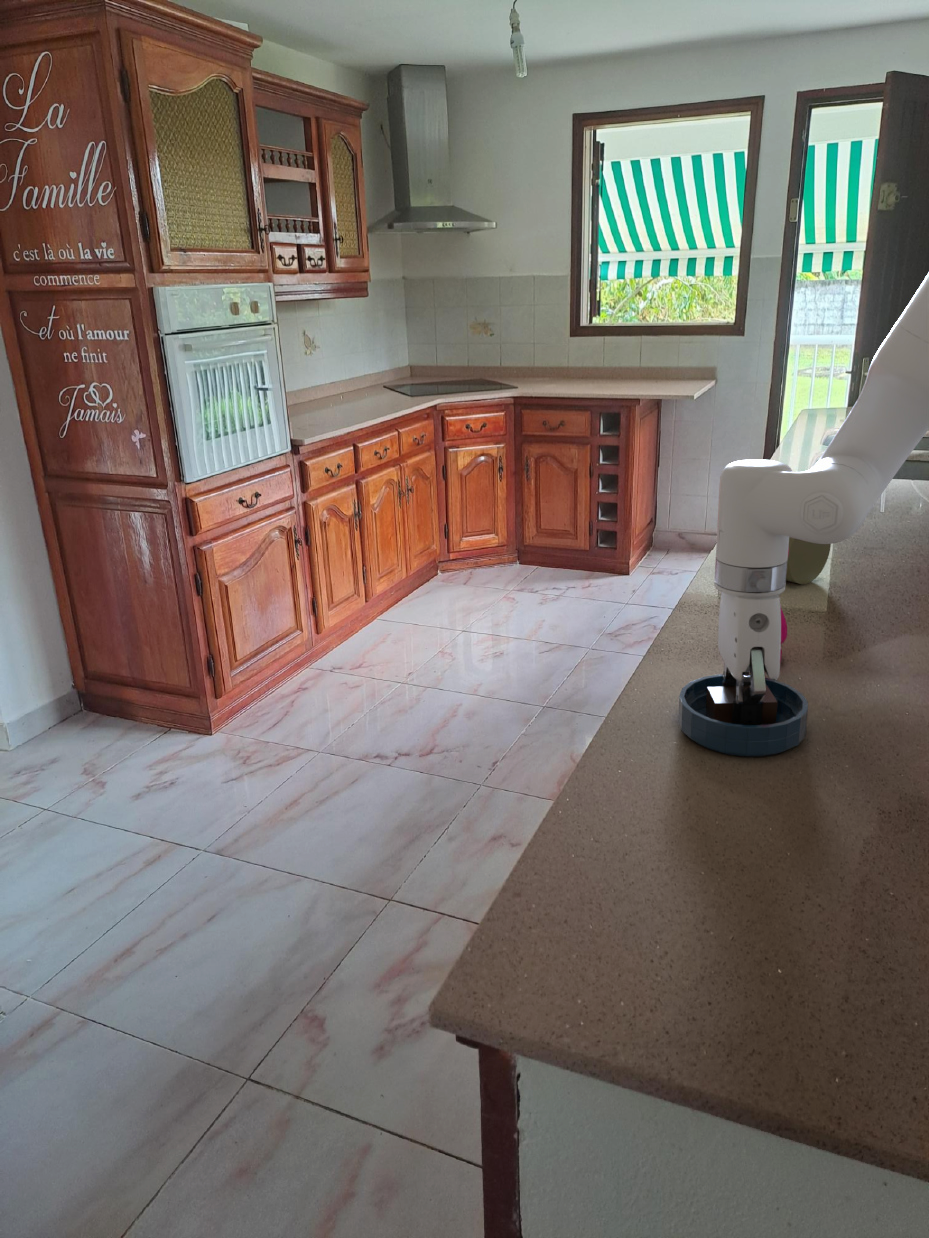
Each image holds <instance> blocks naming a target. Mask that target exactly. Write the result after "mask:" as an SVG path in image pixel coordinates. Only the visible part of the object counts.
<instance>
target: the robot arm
mask: <svg viewBox="0 0 929 1238" xmlns="http://www.w3.org/2000/svg"><path fill="white" fill-rule="evenodd" d="M877 349H878V350H877V351H876V353H875V355H874V356H873V359H872V361H871V363H870V365H869V366H868V367H869V368H868V371H867V374H866V379H865V382H864V384H863V387H862V390H861V392H860V394H859V396H858V397H857V399H856V401H855V403H854V405H853V406H852V408H851V410H850V412H849V413H848V415H847V416H846V418H845V420H844V421H843V423H842V424H841V425H840V427H839V429H838V430H837V432H836V433H835V435H834V436H833V438H832V440H830V443H829V444H828V445H827V447H826V449H825V450H824V451H823V453H822V455H821V456H820V457H819V459H818V460H817V461H816V463H815V464H814V465H813V466H812V467H811V468H810V469H808V470H805V471H795V472H794V471H793V470H792V468H791V467H790V466H789V465H788V464H787V463H784V462H781V461H777V460H773V459H742V460H736V461H733V462H731V463H728V464H727V465H725V467H724V468H723V469H722V471H721V473H720V477H719V487H718V488H719V489H718V504H717V505H718V507H717V524H716V526H717V527H716V546H715V563H714V582H713V586H714V588H715V589H716V590H717V591H719V592H720V601H719V602H720V603H719V612H718V613H719V614H718V625H717V626H718V627H717V628H718V629H717V630H718V631H717V647H718V652H719V654H720V656H721V658H722V660H723V662H724V663H723V671H722V674H723V678H724V680H728V681H723V683H722V686H736V701H733V710H732V724H740V725H761V721H762V708H763V696H764V695H765V694H766V685H765V678H766V677H765V676H767V678H769V679H772V680H777V681H778V679H779V678H780V675H781V673H780V672H781V663H780V651H781V650H782V647H781V645H782V644H781V608H782V605H781V596H780V594H783V593H784V592H785V590H786V583H787V580H786V572H787V559H788V547H789V537H791V538H795V539H799V540H803V541H807V542H811V543H817V544H831V545H833V544H838V543H841V542H843V541H846V540H848V539H849V538H851V537H852V536H853V535H855V533H857V532H858V530H859V529H860V528H861V526H862V525H863V523H864V522H865V520H866V518H867V517H868V515H869V514H870V513H871V510H872V509H873V508H874V506H875V505H876V504H877V502H878V501H879V499H880V498H881V496H882V495H883V493H884V492H885V490H886V488H887V487H888V486H889V485H890V483H891V482H892V480H893V479H894V478H895V476H896V475H897V473H898V472H899V470H900V469H901V468H902V466H903V465H904V463H905V462H906V461H907V459H908V458H909V457H910V455H911V454H912V452H913V451H914V450H915V448H916V447H917V445H918V444H919V443H920V442H921V440H922V439H923V437H924V436H925V435H926V434H927V432H928V431H929V272H928V273H927V275H926V276H925V277H924V280H923V281H922V283H921V284H920V286H919V287H918V289H917V290H916V292H915V294H914V295H913V296H912V298H911V300H910V301H909V303H908V304H907V306H906V307H905V309H904V310H903V312H902V313H901V315H900V316H899V318H898V319H897V321H896V322H895V323H894V325H893V327H892V328H891V330H890V332H889V333H888V334H887V336H886V338H885V339H884V340H883V342H882V343H881V345H880V346H879V348H877ZM780 605H781V606H780ZM749 675H750V676H749ZM743 686H750V687H749V688H746V689H745V690H744V692H743Z"/></svg>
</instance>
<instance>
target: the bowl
mask: <svg viewBox="0 0 929 1238" xmlns="http://www.w3.org/2000/svg"><path fill="white" fill-rule="evenodd" d="M749 676H750V674H749ZM723 681H728V680H724V678H723V673H719V674H712V675H706V676H703V677H702V676H701V677H700V678H696V679H694V680H691V681H689V682H688V683H687V684H685V686H682V688H681V690H680V693H679V695H678V715H677V717H678V718H677V719H678V720H677V721H678V726H679V728H680V730H681V732H682V733H683V734H684V735H686V736H687V737H688V738H689V739H690V740H692V741H694V742H695V743H697V744H698V745H700V746H702V747H704V748H706V749H709V750H712V751H714V752H717V753H722V754H726V755H732V756H737V757H765V756H771V755H772V756H773V755H777V754H781V753H783V752H786V751H788V750H790V749H792V748H794V747H796V746H798V745H799V744H800V743H801V742H802V741H803V740H804V739H805V738H806V734H807V723H808V721H807V720H808V712H809V711H808V710H809V709H808V708H809V701H808V700H807V699H806V697H805V696H804V694H803V693H802V692H800V691H799V690H798V689H796V688H794V687H793V686H792V685H790V684H788V683H785V682H782V681H779V680H778V679H777V680H772V679H769V677H765V685H767V686H768V688H769V689H770V691H771V693H772V694H773V696H774V697H775V699H776V700H777V715H776V723H775V724H769V725H740V724H731V723H726V722H722V721H718V720H714V719H710V718H708V717H706V698H707V687H722V683H723Z"/></svg>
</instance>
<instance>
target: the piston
mask: <svg viewBox="0 0 929 1238" xmlns="http://www.w3.org/2000/svg"><path fill="white" fill-rule="evenodd" d="M831 546H832V544H817V543H811V542H807V541H803V540H799V539H795V538H791V537H789V555H788V559H787V572H786V582H787V581H788V582H792V583H795V584H798V585H807V584H809V583H811V582H813V581H814V580H816V578H818V576H820V574H821V573H822V571H823V569H824V568H825V566H826V564H827V562H828V559H829V556H830V551H831Z"/></svg>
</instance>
